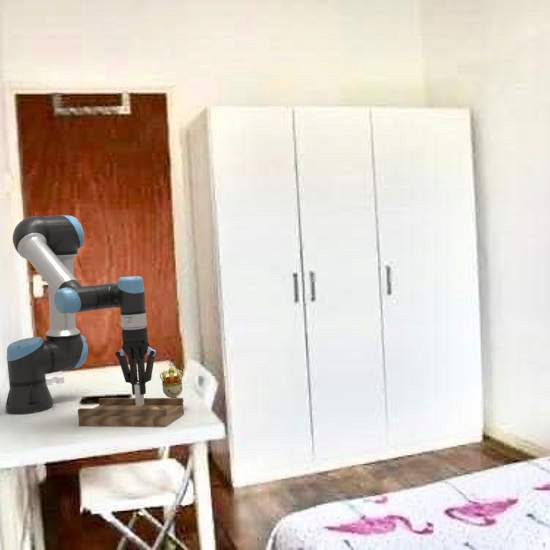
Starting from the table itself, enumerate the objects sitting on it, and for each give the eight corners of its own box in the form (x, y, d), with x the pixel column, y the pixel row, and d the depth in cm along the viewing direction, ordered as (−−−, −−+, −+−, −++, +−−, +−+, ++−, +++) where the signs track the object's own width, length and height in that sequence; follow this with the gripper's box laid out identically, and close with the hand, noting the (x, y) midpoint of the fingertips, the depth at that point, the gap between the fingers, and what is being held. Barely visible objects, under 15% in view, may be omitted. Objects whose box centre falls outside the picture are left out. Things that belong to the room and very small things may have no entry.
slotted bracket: (64, 383, 274) (63, 364, 274) (46, 386, 271) (44, 366, 271) (60, 378, 286) (58, 359, 286) (42, 380, 283) (41, 361, 283)
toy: (166, 414, 214) (163, 366, 213) (159, 409, 221) (156, 363, 220) (188, 410, 217) (185, 363, 217) (180, 405, 224) (177, 360, 223)
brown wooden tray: (78, 425, 206) (77, 409, 206) (101, 413, 220) (100, 398, 220) (165, 426, 200) (164, 409, 199) (183, 413, 213) (182, 397, 213)
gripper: (108, 330, 205) (114, 408, 207) (149, 329, 202) (154, 408, 203) (120, 326, 213) (126, 402, 214) (159, 325, 209) (165, 402, 211)
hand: (140, 405), depth 209 cm, fingers closed
